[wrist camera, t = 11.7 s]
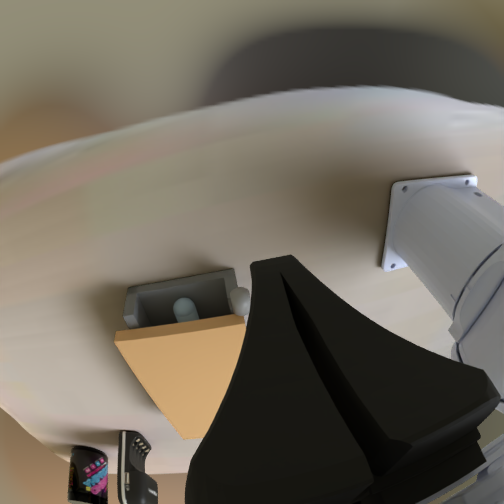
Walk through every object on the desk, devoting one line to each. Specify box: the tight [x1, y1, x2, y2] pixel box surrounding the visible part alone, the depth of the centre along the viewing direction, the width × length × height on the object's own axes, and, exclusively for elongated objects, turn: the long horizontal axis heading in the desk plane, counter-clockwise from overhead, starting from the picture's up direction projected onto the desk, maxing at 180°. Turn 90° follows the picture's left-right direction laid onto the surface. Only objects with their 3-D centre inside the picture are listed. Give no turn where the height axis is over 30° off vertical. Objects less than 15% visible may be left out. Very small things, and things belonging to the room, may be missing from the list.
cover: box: [114, 314, 246, 439], centre depth 25 cm, size 9×18×1 cm, turn 6°
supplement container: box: [68, 446, 108, 504], centre depth 35 cm, size 7×7×10 cm
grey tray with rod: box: [123, 269, 251, 329], centre depth 26 cm, size 9×21×4 cm, turn 6°
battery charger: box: [117, 431, 158, 504], centre depth 32 cm, size 7×4×11 cm, turn 1°
